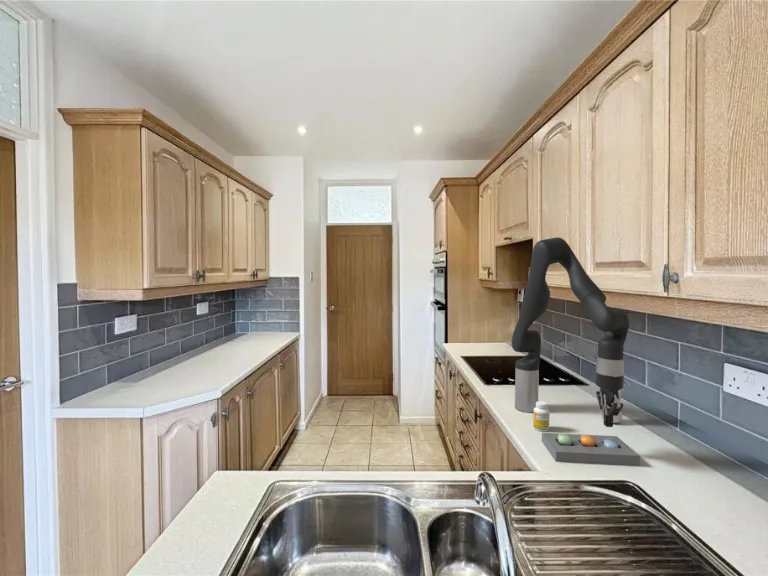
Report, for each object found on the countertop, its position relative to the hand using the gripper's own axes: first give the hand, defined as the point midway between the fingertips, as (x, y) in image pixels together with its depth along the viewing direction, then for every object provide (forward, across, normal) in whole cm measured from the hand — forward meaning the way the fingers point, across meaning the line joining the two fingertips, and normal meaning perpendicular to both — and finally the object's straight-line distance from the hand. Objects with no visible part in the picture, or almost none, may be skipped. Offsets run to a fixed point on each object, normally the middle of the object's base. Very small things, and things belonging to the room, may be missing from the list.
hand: (608, 426), depth 122 cm
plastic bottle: (+9, -28, +14) cm, 32 cm away
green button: (+6, 0, -13) cm, 15 cm away
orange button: (+6, 0, -6) cm, 9 cm away
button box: (+9, 0, -6) cm, 11 cm away
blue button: (+7, 0, +1) cm, 8 cm away
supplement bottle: (+9, -18, -15) cm, 25 cm away
